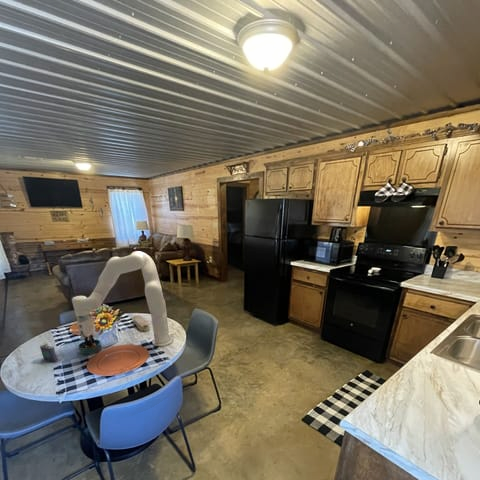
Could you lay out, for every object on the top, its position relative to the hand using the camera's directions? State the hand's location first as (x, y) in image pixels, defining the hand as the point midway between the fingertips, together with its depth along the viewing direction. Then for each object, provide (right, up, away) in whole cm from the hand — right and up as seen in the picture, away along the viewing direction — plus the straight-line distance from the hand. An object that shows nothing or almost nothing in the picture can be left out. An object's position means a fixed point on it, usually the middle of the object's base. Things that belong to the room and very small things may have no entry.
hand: (90, 344), depth 161 cm
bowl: (-1, -4, +3) cm, 5 cm away
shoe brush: (+18, +13, +36) cm, 42 cm away
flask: (-19, -9, -8) cm, 22 cm away
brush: (0, -4, +2) cm, 4 cm away
